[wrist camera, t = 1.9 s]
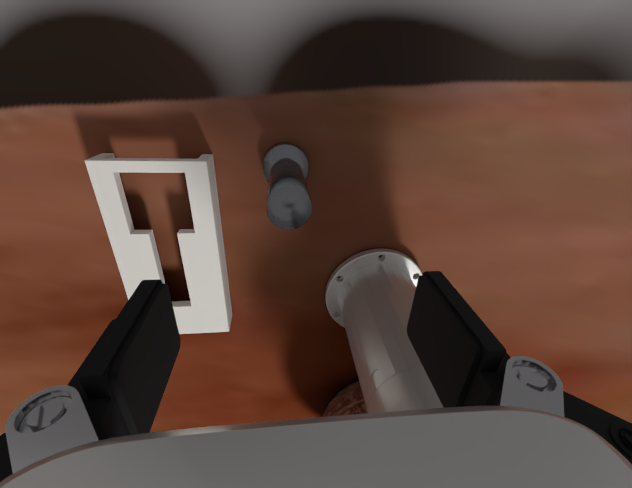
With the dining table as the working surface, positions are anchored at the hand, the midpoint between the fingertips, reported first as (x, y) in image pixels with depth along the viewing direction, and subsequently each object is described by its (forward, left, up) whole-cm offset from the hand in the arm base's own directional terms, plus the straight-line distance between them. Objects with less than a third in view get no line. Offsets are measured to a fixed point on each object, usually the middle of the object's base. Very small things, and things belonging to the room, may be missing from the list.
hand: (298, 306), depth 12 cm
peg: (0, 0, -22) cm, 22 cm away
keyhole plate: (-9, +12, -22) cm, 27 cm away
